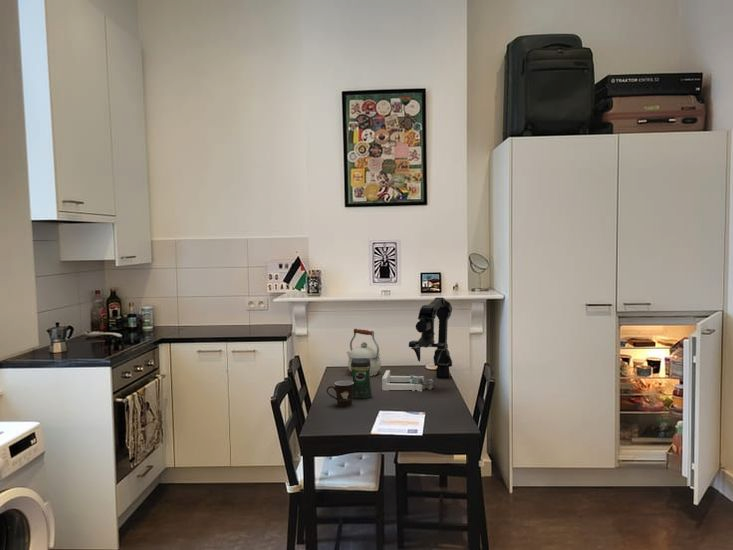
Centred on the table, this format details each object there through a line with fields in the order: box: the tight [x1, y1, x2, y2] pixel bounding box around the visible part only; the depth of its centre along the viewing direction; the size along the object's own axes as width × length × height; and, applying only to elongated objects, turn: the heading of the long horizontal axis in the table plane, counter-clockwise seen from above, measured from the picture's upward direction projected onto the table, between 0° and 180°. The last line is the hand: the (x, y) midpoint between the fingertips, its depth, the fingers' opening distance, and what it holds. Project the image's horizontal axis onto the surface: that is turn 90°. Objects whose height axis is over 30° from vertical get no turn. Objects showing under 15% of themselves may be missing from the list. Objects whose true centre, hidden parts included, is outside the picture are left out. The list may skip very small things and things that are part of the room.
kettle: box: [346, 328, 382, 377], centre depth 299 cm, size 25×18×25 cm
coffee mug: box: [326, 380, 354, 408], centre depth 242 cm, size 12×9×10 cm
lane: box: [381, 369, 425, 392], centre depth 271 cm, size 20×18×6 cm
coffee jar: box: [350, 358, 373, 399], centre depth 254 cm, size 10×8×19 cm
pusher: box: [409, 374, 415, 384], centre depth 270 cm, size 1×12×5 cm, turn 171°
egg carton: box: [417, 376, 434, 390], centre depth 269 cm, size 11×8×4 cm
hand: (428, 362), depth 265 cm, fingers open, 9 cm apart
